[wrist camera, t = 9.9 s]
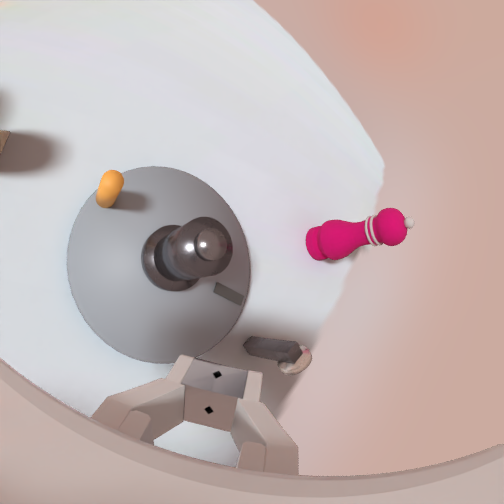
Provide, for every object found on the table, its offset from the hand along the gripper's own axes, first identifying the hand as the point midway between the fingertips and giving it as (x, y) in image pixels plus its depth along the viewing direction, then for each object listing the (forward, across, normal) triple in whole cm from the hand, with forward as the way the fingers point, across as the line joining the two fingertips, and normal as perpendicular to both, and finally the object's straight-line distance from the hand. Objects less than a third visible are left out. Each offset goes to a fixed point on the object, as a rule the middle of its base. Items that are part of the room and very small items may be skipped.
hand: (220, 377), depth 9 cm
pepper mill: (+44, -9, +2) cm, 45 cm away
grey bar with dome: (+27, -1, +16) cm, 31 cm away
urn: (+22, +10, +3) cm, 24 cm away
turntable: (+22, +11, +4) cm, 24 cm away
